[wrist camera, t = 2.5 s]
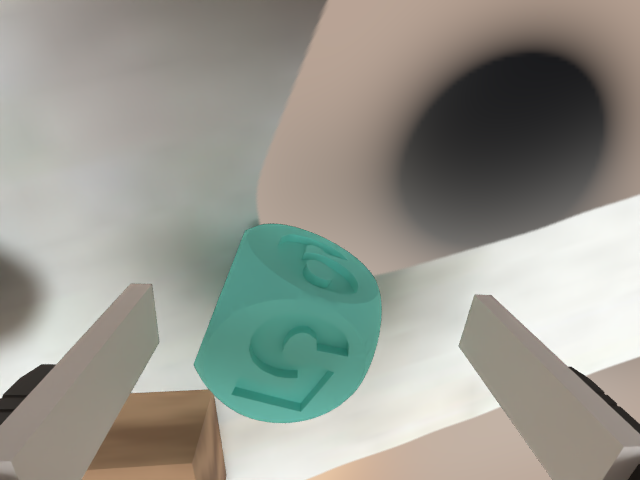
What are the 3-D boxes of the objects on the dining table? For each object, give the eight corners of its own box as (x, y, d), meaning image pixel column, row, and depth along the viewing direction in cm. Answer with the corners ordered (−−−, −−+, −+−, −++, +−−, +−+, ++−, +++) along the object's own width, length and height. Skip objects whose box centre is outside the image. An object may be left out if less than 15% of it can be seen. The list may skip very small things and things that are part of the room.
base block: (71, 393, 25) (8, 475, 20) (213, 386, 26) (192, 463, 20) (105, 480, 29) (62, 567, 24) (226, 472, 30) (211, 554, 25)
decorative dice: (215, 307, 23) (178, 405, 15) (253, 208, 20) (230, 269, 13) (317, 338, 25) (327, 439, 17) (364, 251, 22) (400, 327, 15)
